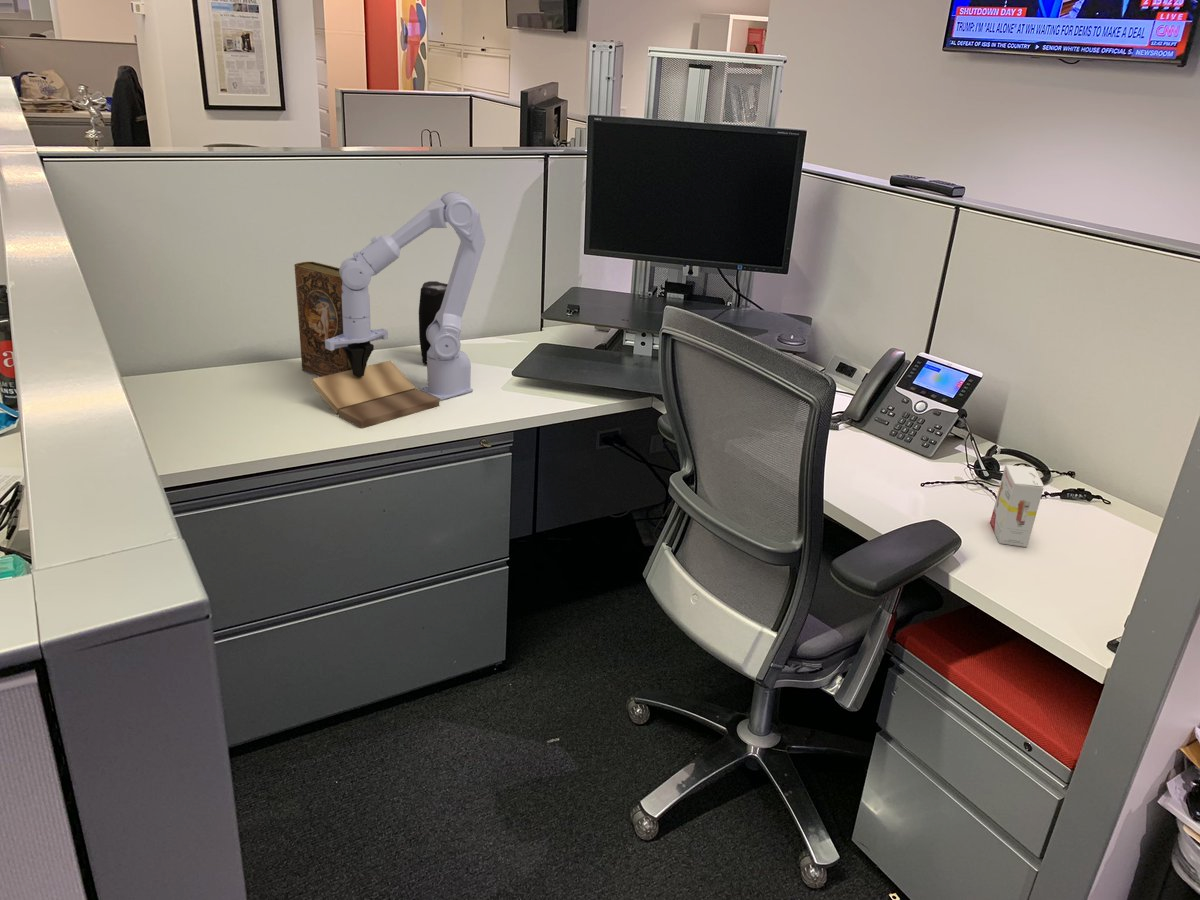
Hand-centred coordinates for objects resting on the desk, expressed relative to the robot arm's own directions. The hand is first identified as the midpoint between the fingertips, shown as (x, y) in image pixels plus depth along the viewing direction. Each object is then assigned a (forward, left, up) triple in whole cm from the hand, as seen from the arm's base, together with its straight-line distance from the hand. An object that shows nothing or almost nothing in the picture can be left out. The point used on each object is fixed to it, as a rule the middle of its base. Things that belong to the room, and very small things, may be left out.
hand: (358, 375), depth 199 cm
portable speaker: (-28, -8, -5) cm, 30 cm away
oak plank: (0, +2, -3) cm, 3 cm away
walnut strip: (0, +11, -5) cm, 12 cm away
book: (-3, -16, -5) cm, 17 cm away
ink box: (-49, +125, -5) cm, 135 cm away
